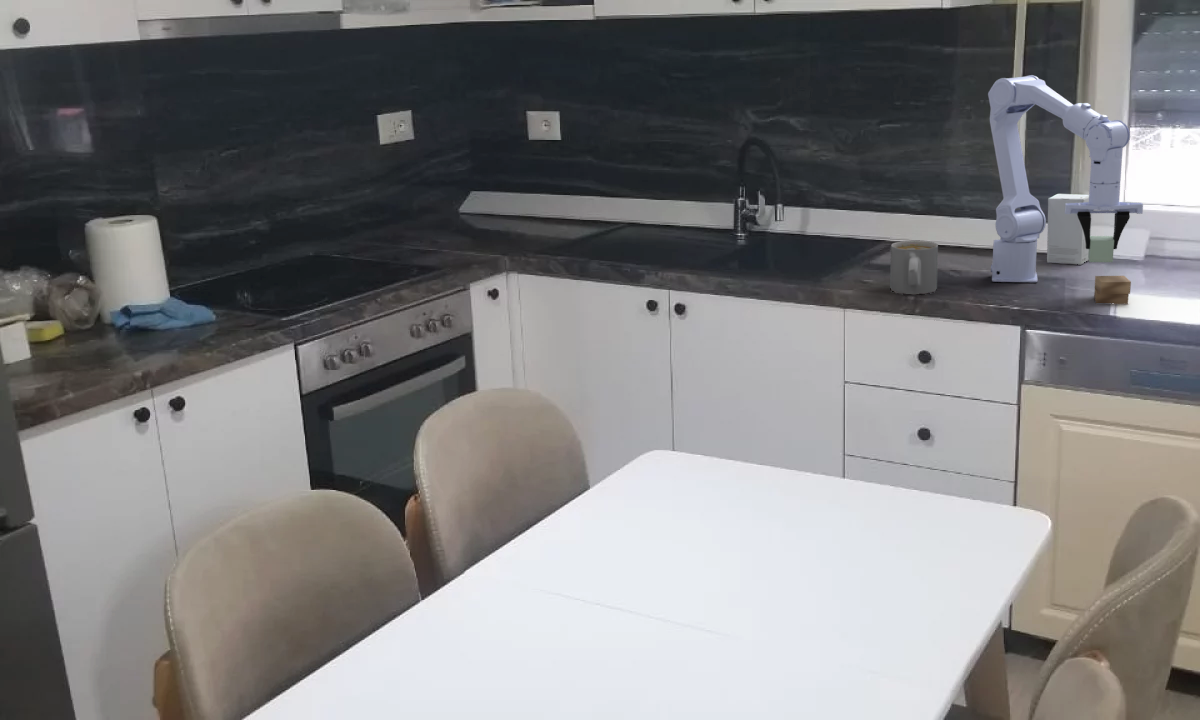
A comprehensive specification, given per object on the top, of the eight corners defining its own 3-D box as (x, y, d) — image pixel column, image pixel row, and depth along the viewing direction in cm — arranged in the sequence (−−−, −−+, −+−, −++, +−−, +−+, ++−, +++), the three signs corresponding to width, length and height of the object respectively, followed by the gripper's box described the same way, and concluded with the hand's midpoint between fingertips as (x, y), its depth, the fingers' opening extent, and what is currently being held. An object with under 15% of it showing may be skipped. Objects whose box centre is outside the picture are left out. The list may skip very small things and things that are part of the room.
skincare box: (1090, 260, 276) (1094, 194, 272) (1080, 266, 271) (1084, 198, 267) (1054, 257, 282) (1058, 192, 277) (1044, 262, 277) (1047, 196, 272)
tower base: (1095, 305, 239) (1096, 293, 239) (1094, 298, 245) (1094, 287, 244) (1127, 306, 237) (1128, 294, 237) (1125, 299, 243) (1126, 287, 242)
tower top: (1100, 294, 238) (1101, 282, 237) (1094, 287, 243) (1095, 276, 243) (1130, 293, 237) (1130, 281, 236) (1123, 287, 242) (1124, 275, 242)
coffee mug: (896, 283, 265) (896, 239, 262) (940, 285, 261) (942, 241, 258) (881, 297, 254) (882, 251, 251) (928, 300, 249) (929, 253, 247)
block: (1089, 262, 241) (1090, 240, 240) (1088, 257, 245) (1089, 236, 244) (1112, 262, 240) (1114, 240, 239) (1111, 257, 244) (1112, 236, 243)
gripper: (1067, 185, 237) (1064, 251, 241) (1146, 184, 232) (1141, 252, 236) (1065, 180, 243) (1062, 245, 247) (1142, 179, 239) (1138, 245, 242)
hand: (1101, 248), depth 242 cm, fingers closed on block, 4 cm apart
